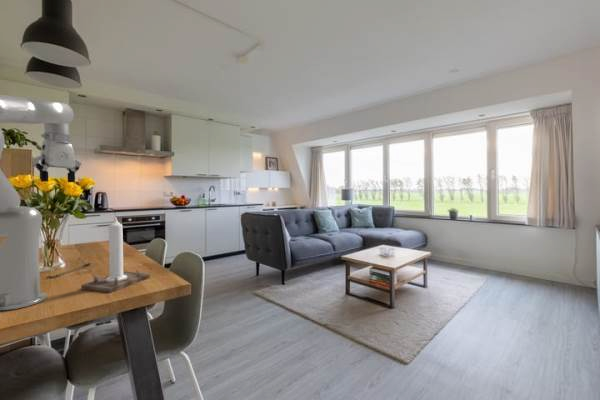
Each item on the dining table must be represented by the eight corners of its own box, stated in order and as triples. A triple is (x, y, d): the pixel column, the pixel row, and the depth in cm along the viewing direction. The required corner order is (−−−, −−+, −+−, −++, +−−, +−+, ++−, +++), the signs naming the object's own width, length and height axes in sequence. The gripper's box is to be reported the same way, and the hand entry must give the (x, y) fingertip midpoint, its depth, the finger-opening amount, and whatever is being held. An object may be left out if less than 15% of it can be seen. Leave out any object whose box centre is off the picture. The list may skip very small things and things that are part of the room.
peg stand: (110, 292, 99) (110, 281, 99) (81, 288, 103) (81, 278, 103) (150, 277, 117) (149, 268, 117) (123, 274, 120) (123, 265, 120)
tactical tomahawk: (60, 281, 115) (60, 278, 115) (45, 279, 115) (45, 276, 115) (100, 266, 136) (100, 264, 136) (87, 265, 136) (87, 262, 136)
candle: (106, 283, 104) (105, 218, 104) (105, 278, 110) (103, 216, 109) (128, 279, 109) (127, 216, 108) (125, 275, 114) (124, 215, 114)
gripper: (38, 134, 101) (39, 181, 102) (86, 142, 118) (87, 182, 119) (24, 135, 103) (25, 181, 104) (73, 143, 120) (74, 182, 121)
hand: (58, 181), depth 111 cm, fingers open, 9 cm apart
